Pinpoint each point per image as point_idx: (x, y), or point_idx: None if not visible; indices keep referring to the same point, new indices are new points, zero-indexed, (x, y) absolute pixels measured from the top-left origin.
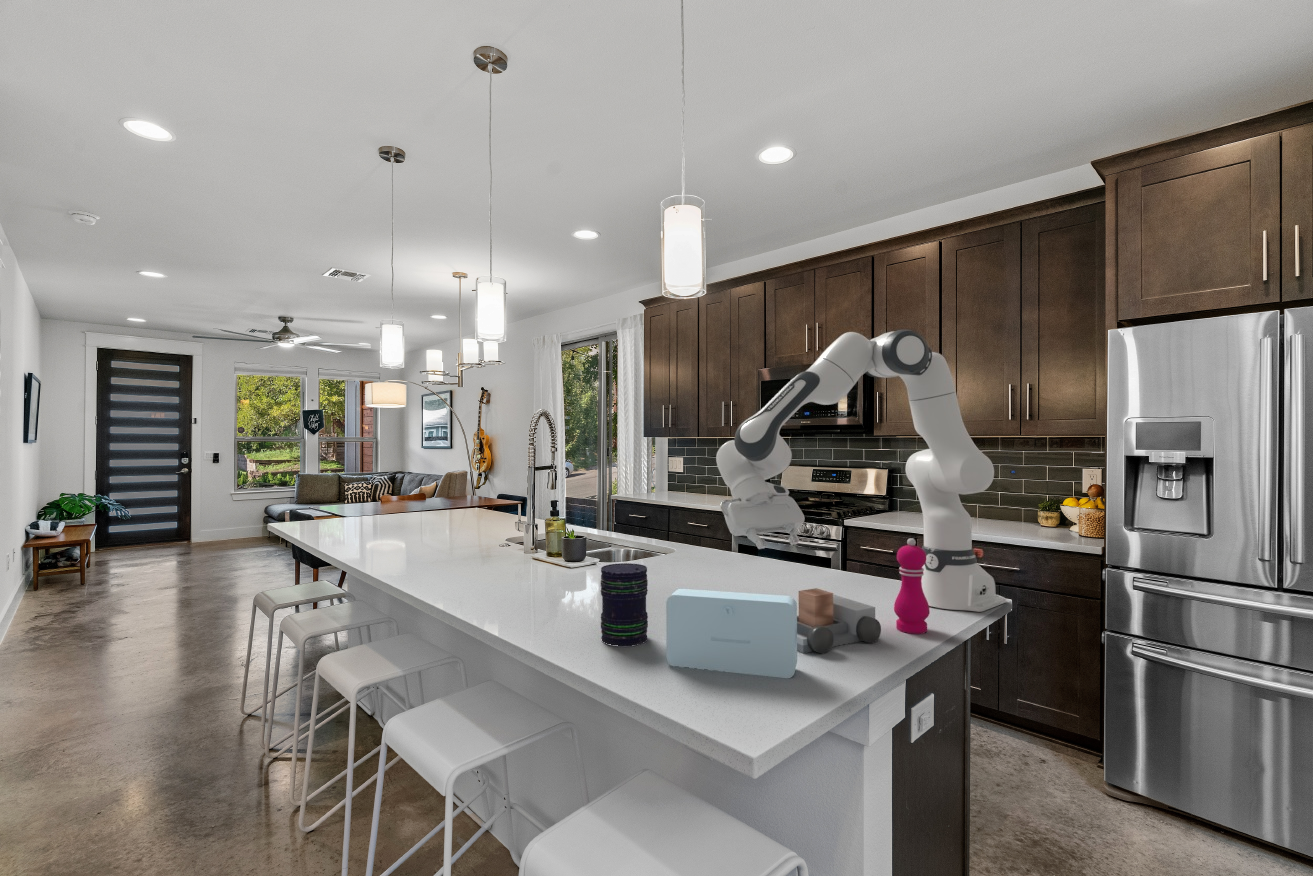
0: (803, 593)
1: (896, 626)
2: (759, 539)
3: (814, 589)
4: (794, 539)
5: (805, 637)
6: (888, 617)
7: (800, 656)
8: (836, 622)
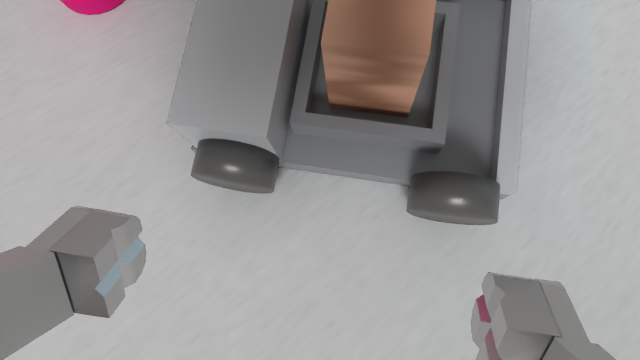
0: (431, 27)
1: (115, 3)
2: (580, 331)
3: (347, 33)
4: (122, 217)
5: (461, 45)
6: (25, 85)
7: (540, 5)
8: (322, 25)
